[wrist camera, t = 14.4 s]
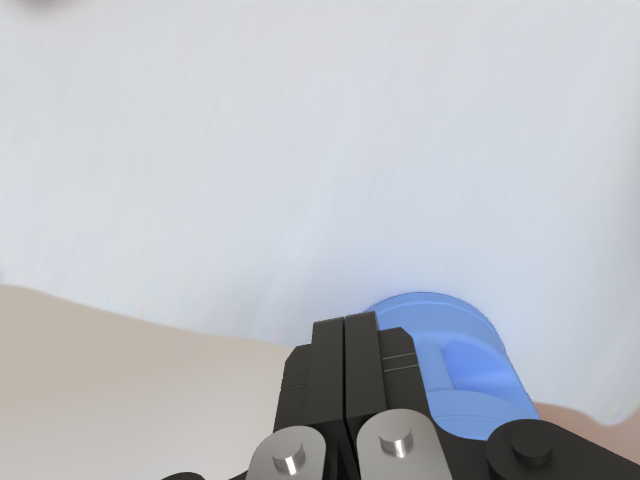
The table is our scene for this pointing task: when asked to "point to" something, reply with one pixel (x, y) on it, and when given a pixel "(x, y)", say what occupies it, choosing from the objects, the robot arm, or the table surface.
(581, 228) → the table surface
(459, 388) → the water jug
